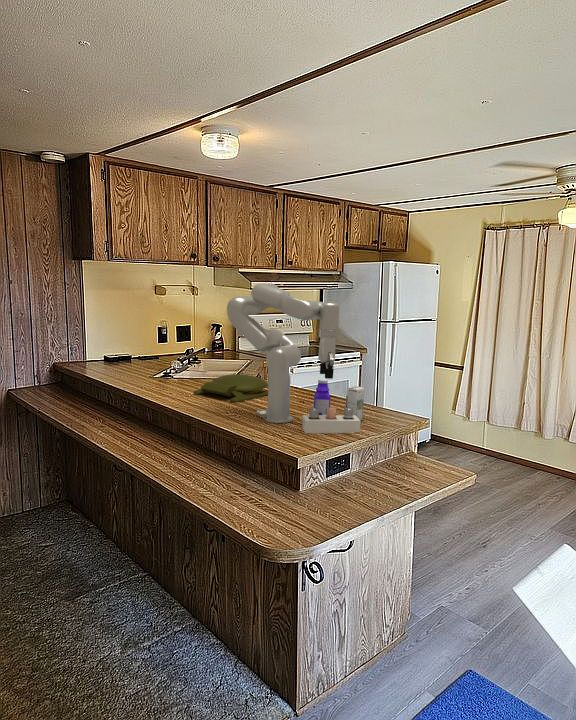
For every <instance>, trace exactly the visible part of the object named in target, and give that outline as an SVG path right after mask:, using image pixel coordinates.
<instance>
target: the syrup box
mask: <svg viewBox="0 0 576 720" xmlns="http://www.w3.org/2000/svg"><path fill="white" fill-rule="evenodd" d="M364 402H365V388H364V387H361V386H357V385H355V386H354V385H353V386H350V387H347V388H346V394H345V407H344V408H346V407H350V408H353V415H356V416H357V418H358V419H359V420H360V421H363V417H364Z"/></svg>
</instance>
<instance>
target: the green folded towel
mask: <svg viewBox="0 0 576 720" xmlns="http://www.w3.org/2000/svg"><path fill="white" fill-rule="evenodd" d="M266 388H268V381H266V380H265V379H263V378H261V377H259V376H256V375H248V374H241V373H239V374H237V373H235V374H225V375H221V376H218V377H216V378H214V379H212V380H211V381H207V382H204V383H203V385H202V386H201V387H200V389H196V390H193V392H192V393H193V395H195V394H202V395H205V394H204V393H207V394H215V395H221V396H226V397H231V398H230V399H229V401H230V403H232V402H238V403H241V401H242V402H246V401H251V400H254V398H255V399H259V398H262V396H263V397H267V396H268V390H263V389H266ZM258 390H261V391H258ZM250 391H257V392H253V393H248V394H243V392H250ZM209 392H210V393H209ZM266 395H267V396H266ZM258 397H259V398H258ZM245 400H246V401H245Z"/></svg>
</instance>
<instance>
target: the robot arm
mask: <svg viewBox="0 0 576 720" xmlns="http://www.w3.org/2000/svg"><path fill="white" fill-rule="evenodd" d="M269 308H272V309H275V310H277V311H280V312H281V313H283V314H284V315H287V316H289V317H291V318H294V319H298V320H301V321H314V320H315V321H316V320H319V326H318V327H319V329H318V338H320V340H319V344H318V345H319V346H318V358H317V359H318V360H319V361H320V363H319V374H320V375H324V379H327V380H333V379H334V368H335V367H334V364H335V360H336V344H337V343H336V339H338V338H339V326H340V325H339V324H340V323H339V322H340V304H339V303H337V302H323V301H320V300H319V301H318V300H301V299H299V298H296V297H293V296H291V294H290V292H289V291H288V290H284V289H281V288H280V287H279V286H277V285H276V284H274V283H257V284H256V285H254V286H253V287H252V288H251V291H250V295H240V296H235V297H232V298H231V299H230V300H229V301H228V302H227V305H226V315H227V317H228V320H229V323H230V324H231V325H232V327H234V328H235V329H236V330H237V332H239V333H240V334H241V335H242V336H243V337H244V338H245V340H247V341H248V342H249V343H250V344H251V345H252V346H253V347H254V348H255V349H256V350H257V351H258V352H262V353H266V357H265V358H266V359H265V361H266V367H267V383H268V387H267V391H268V395H267V407H266V409H262V410H256V415H258V416H263V420H264V421H265V422H268V423H272V424H288V423H291V422H293V421H294V417H293V416H292V415H290V413H291V412H290V411H291V410H290V406H291V402H290V401H291V375H290V374H291V373H290V371H289V368H292V367H295V366H297V365H298V364H299V363H300V361H301V360H302V354H301V351H300V349H299V348H298V346H297V345H296V344H295V343H294V342H292V340H291V339H289V337H288V336H286V334H285V333H283V332H282V331H280V330H278V329H277V328H276V329H275V328H271V329H270V328H269V329H267V328H264V327H263V326H262V325H261V324H260V323H259V322H258V321H257V320H255V319H254V318H252V316H255V315H258V314H260V313H262V312H263V311H265V310H266V309H269Z"/></svg>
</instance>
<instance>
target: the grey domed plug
mask: <svg viewBox="0 0 576 720" xmlns="http://www.w3.org/2000/svg"><path fill="white" fill-rule="evenodd" d="M345 407H346V406H345ZM345 407H344V408H343V415H344V419H353V408H350V407H346V408H345Z"/></svg>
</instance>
